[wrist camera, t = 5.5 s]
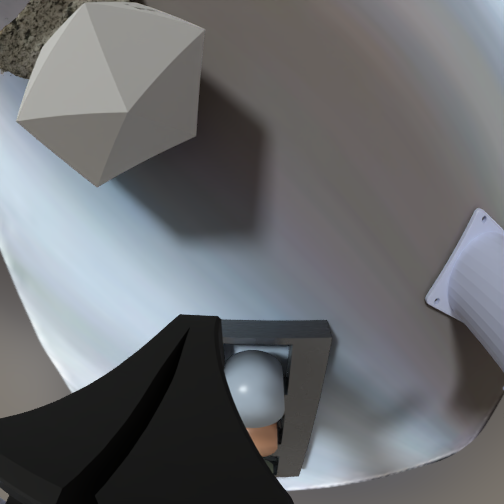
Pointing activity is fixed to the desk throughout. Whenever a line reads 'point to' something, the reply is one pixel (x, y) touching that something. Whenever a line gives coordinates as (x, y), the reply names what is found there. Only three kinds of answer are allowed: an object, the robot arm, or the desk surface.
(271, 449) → the orange rounded block
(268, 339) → the button panel
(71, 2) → the rock sample
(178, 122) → the die
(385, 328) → the desk surface
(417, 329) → the desk surface
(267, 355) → the slate button
